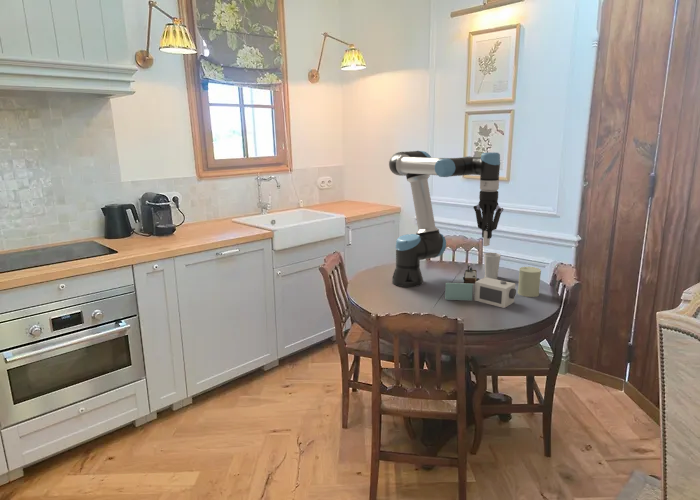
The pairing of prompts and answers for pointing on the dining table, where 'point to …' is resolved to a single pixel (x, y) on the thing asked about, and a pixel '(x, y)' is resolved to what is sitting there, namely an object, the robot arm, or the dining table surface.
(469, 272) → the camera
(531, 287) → the can
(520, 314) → the dining table surface
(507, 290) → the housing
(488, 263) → the cup
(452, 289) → the side door
